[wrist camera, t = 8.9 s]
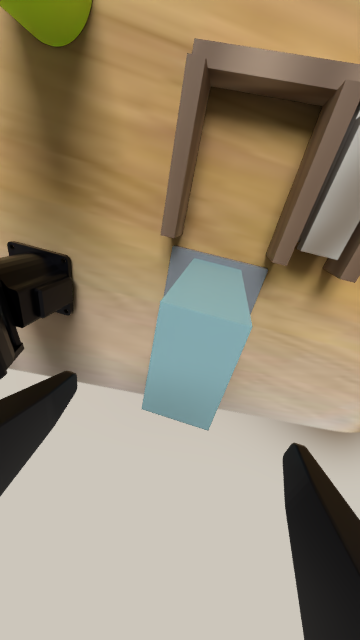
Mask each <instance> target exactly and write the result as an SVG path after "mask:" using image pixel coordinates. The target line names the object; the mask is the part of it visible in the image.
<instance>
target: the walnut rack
mask: <svg viewBox="0 0 360 640" xmlns="http://www.w3.org/2000/svg"><path fill="white" fill-rule="evenodd" d="M211 86H212V87H218V88H223V89H229V90H235V91H240V92H246V93H252V94H257V95H263V96H269V97H274V98H280V99H286V100H291V101H297V102H302V103H308V104H314V105H319V106H323V107H322V109H321V112H320V115H319V117H318V120H317V122H316V125H315V128H314V130H313V133H312V135H311V138H310V141H309V143H308V146H307V148H306V151H305V154H304V156H303V159H302V161H301V164H300V167H299V169H298V172H297V175H296V177H295V180H294V182H293V185H292V188H291V190H290V193H289V195H288V198H287V201H286V203H285V206H284V208H283V211H282V214H281V216H280V219H279V221H278V224H277V227H276V229H275V232H274V234H273V237H272V240H271V242H270V245H269V247H268V250H267V253H266V256H267V257H268V258H269V259H270V260H271V262H273V263H277V264H281V265H285V266H287V264H288V262H289V260H290V258H291V255H292V253H293V251H294V248H295V246H296V244H297V242H298V239H299V237H300V235H301V233H302V230H303V228H304V226H305V224H306V221H307V219H308V217H309V214H310V212H311V210H312V208H313V205H314V203H315V201H316V199H317V196H318V194H319V192H320V190H321V187H322V185H323V183H324V180H325V178H326V176H327V174H328V171H329V169H330V167H331V165H332V162H333V160H334V158H335V156H336V153H337V151H338V149H339V146H340V144H341V142H342V140H343V137H344V135H345V133H346V131H347V128H348V126H349V124H350V122H351V119H352V117H353V115H354V112H355V110H356V108H357V106H358V105H359V104H360V64H354V63H347V62H341V61H335V60H328V59H322V58H316V57H309V56H303V55H297V54H290V53H284V52H278V51H272V50H265V49H259V48H253V47H246V46H240V45H234V44H227V43H221V42H215V41H208V40H202V39H196V38H194V44H193V51H192V54H189V53H187V58H186V65H185V72H184V79H183V86H182V93H181V99H180V106H179V113H178V120H177V127H176V134H175V140H174V147H173V154H172V161H171V168H170V174H169V181H168V188H167V195H166V202H165V209H164V215H163V222H162V229H161V235H162V236H167V237H171V238H176V237H178V236H180V235H182V233H183V228H184V222H185V217H186V212H187V207H188V201H189V196H190V191H191V186H192V181H193V175H194V170H195V165H196V160H197V155H198V149H199V144H200V139H201V134H202V128H203V123H204V118H205V113H206V108H207V102H208V97H209V92H210V87H211ZM323 269H324V270H326V271H328V272H329V273H331V274H332V275H334V276H336V277H337V278H339V279H342V280H346V281H350V282H354V283H355V282H356V280H357V279H358V277H359V276H360V221H359V223H358V224H357V226H356V228H355V230H354V232H353V233H352V235H351V237H350V239H349V240H348V242H347V244H346V246H345V248H344V249H343V251H342V253H341V255H340V256H339V258H338V260H335V259H331V258H328V259H327V261H326V263H325V265H324V267H323Z"/></svg>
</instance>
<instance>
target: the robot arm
mask: <svg viewBox="0 0 360 640" xmlns="http://www.w3.org/2000/svg"><path fill="white" fill-rule="evenodd" d="M7 246H8V252H9V256H7V257H2V258H0V379H1V378H3V377H4V376H5V375H6V374H7V371H6V370H7V369H8V367H9V366H10V365H11V364H12V363H13V361H14V360H15V359H16V358H17V357H18V355H19V354H20V353H21V352H22V351H23V350H24V346H23V343H22V342H21V341H20V338H19V335H18V332H17V329H16V327H20V328H23V327H25V326H27V325H29V324H30V323H32V322H34V321H36V320H38V319H39V318H45V317H47V316H48V315H50V314H52V313H54V312H57V313H60V314H64V315H70V314H72V313H73V303H72V301H73V295H72V279H71V261H70V258H69V257H68V256H67V255H64V254H60V253H57V252H53V251H49V250H45V249H41V248H38V247H34V246H30V245H26V244H23V243H19V242H15V241H12V242H8V244H7ZM13 246H14V247H13ZM64 259H65V261H66V262H64ZM67 310H68V311H67ZM76 390H77V375H76V373H74V372H71V371H64V372H62V373H59V374H57V375H55V376H53V377H50V378H48V379H46V380H44V381H41V382H39V383H37V384H35V385H32V386H30V387H28V388H26V389H23V390H21V391H19V392H17V393H15V394H12V395H10V396H8V397H5V398H3V399H1V400H0V496H1V495H2V493H3V492H4V491H5V489H6V488H7V487H8V486H9V484H10V483H11V482H12V480H13V479H14V478H15V477H16V475H17V474H18V473H19V471H20V470H21V469H22V467H23V466H24V465H25V464H26V462H27V461H28V460H29V458H30V457H31V456H32V454H33V453H34V452H35V451H36V449H37V448H38V447H39V445H40V444H41V443H42V442H43V440H44V439H45V438H46V436H47V435H48V434H49V432H50V431H51V430H52V428H53V427H54V426H55V424H56V422H57V421H58V419H59V418H60V416H61V415H62V413H63V412H64V410H65V408H66V407H67V405H68V404H69V402H70V400H71V399H72V397H73V395H74V394H75V392H76ZM283 475H284V495H285V496H284V497H285V509H286V516H287V523H288V530H289V537H290V544H291V551H292V558H293V565H294V571H295V578H296V585H297V592H298V599H299V606H300V613H301V620H302V627H303V633H304V640H360V520H359V518H358V517H357V516H356V514H355V513H354V512H353V510H352V509H351V508H350V506H349V505H348V504H347V502H346V501H345V500H344V498H343V497H342V495H341V494H340V493H339V491H338V490H337V489H336V487H335V486H334V485H333V483H332V482H331V480H330V479H329V478H328V476H327V475H326V474H325V472H324V471H323V470H322V468H321V467H320V466H319V464H318V463H317V461H316V460H315V459H314V457H313V456H312V455H311V453H310V452H309V451H308V449H307V448H306V447H305V446H303V445H300V444H297V443H293V444H291V445H290V447H289V448H288V449H287V451H286V452H285V453H284V456H283Z"/></svg>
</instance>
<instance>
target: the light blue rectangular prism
mask: <svg viewBox="0 0 360 640" xmlns="http://www.w3.org/2000/svg"><path fill="white" fill-rule="evenodd" d="M251 329H252V322H251V317H250V312H249V307H248V302H247V297H246V292H245V287H244V282H243V277H242V271H241V270H239V269H235V268H231V267H227V266H224V265H220V264H216V263H212V262H208V261H204V260H200V259H196V258H194V259H193V260H192V261H191V263H190V264H189V265H188V267H187V268H186V269H185V270H184V272H183V273H182V274H181V276H180V277H179V278H178V279H177V281H176V282H175V283H174V285H173V286H172V287H171V288H170V290H169V291H168V292H167V294H166V295H165V296H164V297H163V299H162V300H161V301H160V307H159V313H158V318H157V324H156V330H155V335H154V341H153V347H152V353H151V358H150V364H149V370H148V376H147V381H146V387H145V393H144V399H143V404H142V409H143V410H146V411H150V412H152V413H156V414H158V415H162V416H165V417H168V418H171V419H174V420H177V421H180V422H183V423H186V424H189V425H192V426H196V427H199V428H202V429H205V430H209V427H210V425H211V422H212V420H213V418H214V416H215V413H216V411H217V409H218V406H219V404H220V402H221V399H222V397H223V395H224V392H225V390H226V388H227V385H228V383H229V381H230V378H231V376H232V373H233V371H234V369H235V366H236V364H237V362H238V359H239V357H240V355H241V352H242V350H243V348H244V345H245V343H246V341H247V338H248V336H249V334H250V331H251Z"/></svg>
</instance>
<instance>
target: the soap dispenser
mask: <svg viewBox="0 0 360 640" xmlns="http://www.w3.org/2000/svg"><path fill="white" fill-rule="evenodd" d="M91 4H92V0H0V6H1V7H2V8H3V9H4V10H5V11H7V12H8V13H9V14H10V15H11V16H12V17H13V18H14V19H15V20H17V21H18V22H19V23H20V24H21V25H22V26H23V27H24V28H26V29H27V30H28V31H29V32H30V33H31V34H32V35H33V36H34V37H36V38H37V39H38V40H39V41H41V42H43V43H45V44H47V45H50V46H57V47H58V46H64V45H67V44H69V43H70V42H72V41H73V40H74V39H75V38H76V37H77V36H78V35H79V34H80V32H81V31H82V29H83V27H84V25H85V23H86V21H87V19H88V16H89V12H90V8H91Z"/></svg>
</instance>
